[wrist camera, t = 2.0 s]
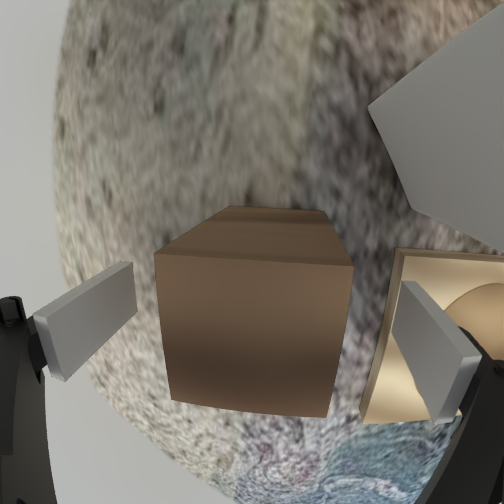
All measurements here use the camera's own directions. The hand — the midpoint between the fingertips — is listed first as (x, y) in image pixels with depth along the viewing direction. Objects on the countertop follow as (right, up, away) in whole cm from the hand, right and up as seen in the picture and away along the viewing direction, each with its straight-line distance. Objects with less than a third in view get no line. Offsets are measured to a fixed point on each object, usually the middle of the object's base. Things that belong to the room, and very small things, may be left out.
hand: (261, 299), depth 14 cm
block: (+1, +2, +6) cm, 6 cm away
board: (+17, -5, +6) cm, 18 cm away
